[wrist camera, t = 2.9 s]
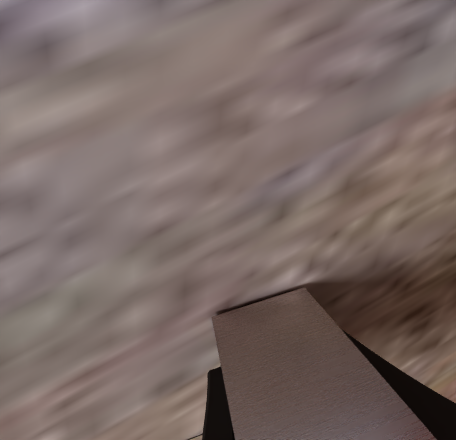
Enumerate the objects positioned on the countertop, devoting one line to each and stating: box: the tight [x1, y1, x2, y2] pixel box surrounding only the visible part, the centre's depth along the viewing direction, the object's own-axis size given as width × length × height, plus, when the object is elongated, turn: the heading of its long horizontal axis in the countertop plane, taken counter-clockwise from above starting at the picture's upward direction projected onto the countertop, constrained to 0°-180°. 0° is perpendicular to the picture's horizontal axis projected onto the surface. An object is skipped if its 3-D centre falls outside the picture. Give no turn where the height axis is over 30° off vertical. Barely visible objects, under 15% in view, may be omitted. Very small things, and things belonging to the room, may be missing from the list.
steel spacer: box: [212, 287, 437, 440], centre depth 8 cm, size 4×4×6 cm
